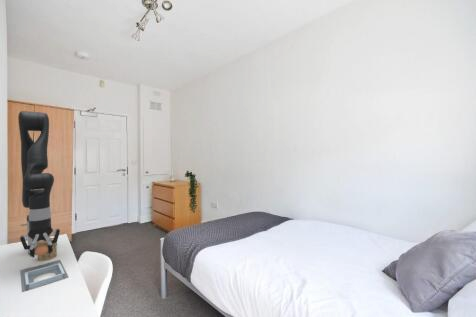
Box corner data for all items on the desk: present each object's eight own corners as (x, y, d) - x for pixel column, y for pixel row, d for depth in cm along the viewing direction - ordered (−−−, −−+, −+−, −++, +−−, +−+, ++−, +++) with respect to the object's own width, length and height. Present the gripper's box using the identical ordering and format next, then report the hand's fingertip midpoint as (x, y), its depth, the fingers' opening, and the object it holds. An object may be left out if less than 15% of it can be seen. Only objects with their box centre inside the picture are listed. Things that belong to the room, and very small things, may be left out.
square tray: (24, 277, 95) (24, 272, 95) (60, 267, 103) (59, 262, 103) (26, 290, 85) (26, 285, 85) (65, 278, 93) (64, 273, 93)
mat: (20, 271, 101) (20, 270, 101) (60, 260, 111) (60, 259, 111) (22, 293, 84) (21, 292, 84) (68, 278, 94) (68, 277, 94)
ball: (33, 255, 104) (33, 244, 104) (48, 251, 107) (47, 241, 107) (34, 258, 100) (34, 247, 100) (49, 255, 104) (48, 244, 103)
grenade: (45, 262, 110) (44, 231, 109) (33, 261, 111) (32, 230, 111) (60, 255, 117) (59, 226, 117) (49, 255, 118) (48, 226, 118)
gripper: (58, 213, 111) (60, 247, 111) (17, 219, 101) (19, 257, 101) (61, 216, 105) (62, 252, 106) (18, 223, 95) (19, 263, 96)
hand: (41, 254), depth 104 cm, fingers closed on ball, 5 cm apart
